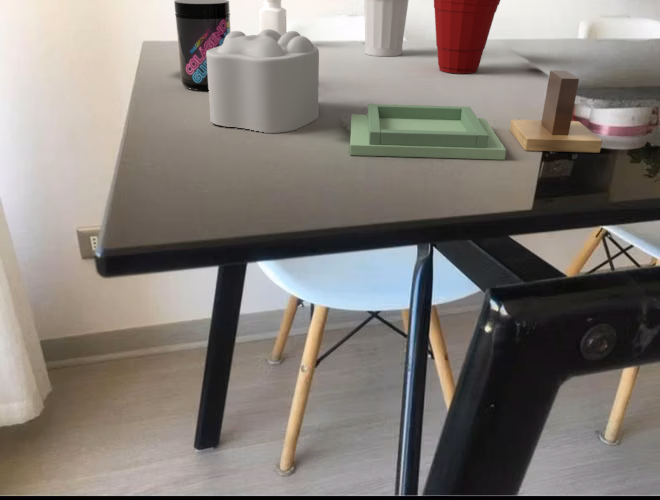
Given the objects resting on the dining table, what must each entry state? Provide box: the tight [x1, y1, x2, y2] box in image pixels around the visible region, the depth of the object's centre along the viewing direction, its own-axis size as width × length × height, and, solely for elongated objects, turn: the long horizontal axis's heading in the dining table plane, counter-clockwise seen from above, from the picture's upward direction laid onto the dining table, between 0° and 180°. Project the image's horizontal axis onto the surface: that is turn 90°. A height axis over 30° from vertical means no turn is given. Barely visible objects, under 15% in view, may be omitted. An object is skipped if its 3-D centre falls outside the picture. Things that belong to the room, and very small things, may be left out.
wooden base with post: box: [509, 69, 603, 154], centre depth 61 cm, size 7×7×6 cm
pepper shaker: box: [258, 0, 288, 36], centre depth 112 cm, size 4×4×10 cm
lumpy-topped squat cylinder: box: [206, 29, 320, 134], centre depth 68 cm, size 10×13×9 cm
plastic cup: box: [433, 0, 501, 75], centre depth 93 cm, size 11×11×12 cm
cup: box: [363, 0, 409, 57], centre depth 106 cm, size 8×8×12 cm
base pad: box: [349, 103, 507, 161], centre depth 61 cm, size 14×11×2 cm
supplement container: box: [173, 0, 232, 90], centre depth 80 cm, size 7×7×10 cm
